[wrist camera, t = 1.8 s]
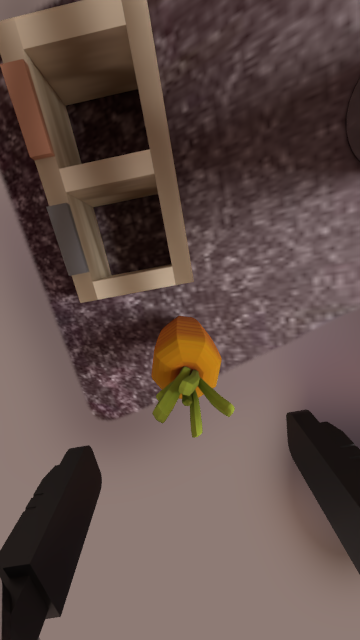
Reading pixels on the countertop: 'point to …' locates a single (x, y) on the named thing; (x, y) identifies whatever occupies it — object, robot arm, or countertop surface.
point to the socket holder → (59, 143)
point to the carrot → (186, 370)
